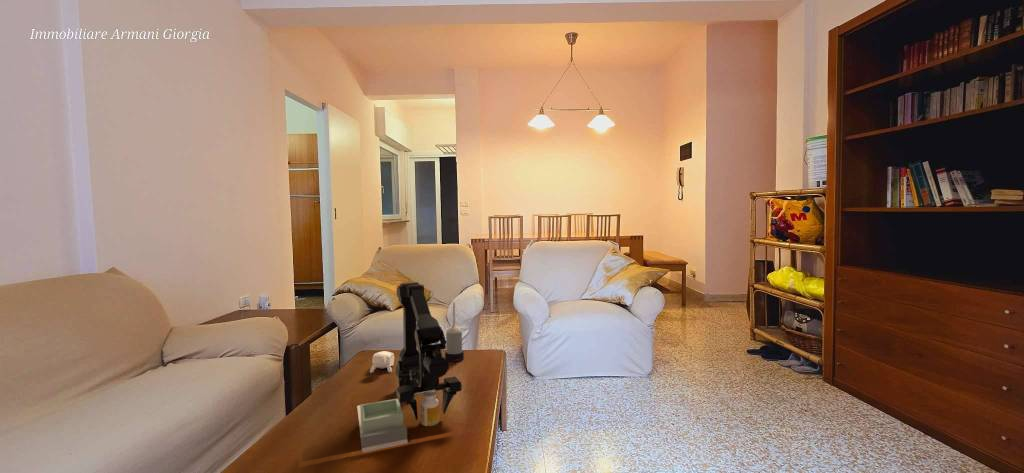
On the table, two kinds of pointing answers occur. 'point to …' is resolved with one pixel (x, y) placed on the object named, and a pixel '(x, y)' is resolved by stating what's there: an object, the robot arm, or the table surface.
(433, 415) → the supplement bottle
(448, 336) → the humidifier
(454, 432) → the table surface
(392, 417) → the sage green storage bin
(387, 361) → the white animal figurine
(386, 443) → the board
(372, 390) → the table surface
